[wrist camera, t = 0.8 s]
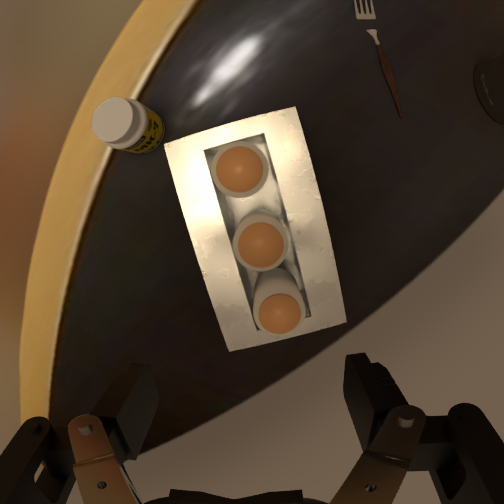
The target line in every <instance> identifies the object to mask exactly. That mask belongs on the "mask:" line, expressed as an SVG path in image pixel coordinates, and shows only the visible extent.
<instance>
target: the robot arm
mask: <svg viewBox="0 0 504 504" xmlns="http://www.w3.org/2000/svg"><path fill="white" fill-rule="evenodd" d="M474 82H475V88H476V92H477V94H478V97H479V100H480V102H481V103H482V105H483V107H484V109H485V110H486V112H487V113H488V114H489V115H490V116H491V117H492V118H493V119H494V120H495V121H497V122H499V123H501V124H504V52H503V53H501V54H498V55H496V56H494V57H491V58H489V59H486V60H484V61H482V62H480V63H479V64H478V65H477V67H476V69H475V73H474ZM343 392H344V398H345V401H346V404H347V407H348V410H349V413H350V415H351V418H352V420H353V424H354V426H355V429H356V432H357V435H358V438H359V441H360V444H361V447H362V450H363V454H362V455H361V457H360V458H359V460H358V461H357V463H356V465H355V466H354V468H353V469H352V471H351V472H350V474H349V476H348V477H347V479H346V480H345V482H344V483H343V485H342V486H341V487H340V489H339V490H338V492H337V493H336V495H335V496H334V497H333V499H332V501H331V502H330V503H326V502H323V501H319V500H315V499H310V498H303V494H302V490H293V491H279V492H267V493H263V494H259V495H254V496H249V497H245V498H240V499H229V498H225V497H221V496H216V495H212V494H208V493H205V492H199V491H186V490H176V489H170V493H169V497H164V498H159V499H155V500H151V501H149V502H146V503H143V501H142V499H141V498H140V496H139V494H138V492H137V490H136V488H135V487H134V485H133V483H132V481H131V479H130V477H129V475H128V473H127V471H126V469H125V467H124V465H123V463H124V461H125V459H130V460H136V459H137V456H138V454H139V451H140V449H141V446H142V444H143V441H144V439H145V436H146V434H147V431H148V429H149V426H150V424H151V422H152V419H153V417H154V414H155V412H156V409H157V407H158V402H159V397H158V391H157V388H156V385H155V381H154V378H153V374H152V370H151V367H150V365H148V364H133V363H132V364H130V366H129V367H128V369H127V370H126V372H125V373H124V374H120V375H119V376H117V377H116V378H114V379H113V380H112V381H111V382H110V384H109V385H108V387H107V389H106V390H105V392H104V393H103V395H102V396H101V398H100V399H99V401H98V402H97V404H96V405H95V407H94V408H93V410H92V411H91V413H90V414H89V415H82V416H79V417H77V418H75V419H74V420H72V421H71V422H70V424H69V426H68V427H52V425H51V424H50V422H49V420H48V419H47V418H45V417H33V418H30V419H28V420H27V421H25V422H24V423H23V425H22V426H21V427H20V429H19V430H18V431H17V433H16V434H15V436H14V437H13V438H12V440H11V441H10V443H9V444H8V445H7V447H6V449H5V450H4V451H3V453H2V454H1V455H0V504H66V502H67V499H68V497H69V494H70V492H71V490H72V488H73V485H74V483H75V481H76V480H77V484H78V487H79V490H80V493H81V496H82V499H83V502H84V504H392V502H393V500H394V498H395V496H396V494H397V492H398V490H399V487H400V486H401V484H402V481H403V479H404V477H405V475H406V472H407V471H429V473H430V475H431V478H432V481H433V483H434V486H435V488H436V490H437V493H438V496H439V499H440V501H441V504H504V443H503V441H502V440H501V438H500V437H499V435H498V434H497V432H496V431H495V429H494V428H493V426H492V425H491V423H490V422H489V421H488V419H487V418H486V416H485V415H484V413H483V412H482V411H481V410H480V408H478V407H477V406H475V405H473V404H469V403H460V404H457V405H455V406H453V407H452V408H451V409H450V410H449V413H448V415H447V416H426V415H425V413H424V412H423V411H422V410H421V409H420V408H418V407H415V406H412V405H409V404H408V402H407V401H406V399H405V397H404V396H403V394H402V392H401V391H400V389H399V387H398V386H397V384H395V381H394V379H393V378H392V376H391V375H390V373H389V371H388V370H387V368H385V367H384V366H383V365H381V364H380V363H378V362H377V363H371V362H370V360H369V359H368V357H367V355H366V354H365V353H358V354H350V355H347V356H346V360H345V371H344V383H343ZM41 463H42V465H43V466H44V468H43V470H42V472H41V474H40V476H39V477H38V479H37V481H36V483H35V481H34V475H35V473H36V471H37V469H38V467H39V466H40V464H41Z"/></svg>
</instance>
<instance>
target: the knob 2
mask: <svg viewBox="0 0 504 504" xmlns="http://www.w3.org/2000/svg"><path fill="white" fill-rule="evenodd" d="M288 248H289V240H288V236H287V233H286V231H285V229H284V227H283V225H282V224H281V222H280V220H279V218H278V217H277V216H276V215H275V214H274V213H272V212H270V211H268V210H264V209H256V210H253V211H250V212H248V213H247V214H246V215H244V216H243V218H242V219H241V221H240V223H239V225H238V227H237V230H236V232H235V234H234V237H233V251H234V254H235V256H236V258H237V259H238V261H239V262H240V263H241V264H242V265H243V266H245V267H246V268H248V269H250V270H253V271H259V272H262V271H268V270H271V269H274V268H275V267H277V266H278V265H279V264H281V263H282V261H283V260H284V259H285V257H286V255H287V252H288Z"/></svg>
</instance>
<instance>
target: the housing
mask: <svg viewBox="0 0 504 504" xmlns="http://www.w3.org/2000/svg"><path fill="white" fill-rule="evenodd" d="M236 141H244V142H248V143H251V144H253V145H255V146H257V147H258V148H259V149H260V150H261V151H262V152H263V153H264V155H265V157H266V158H267V161H268V166H269V173H268V177H267V180H266V182H265V184H264V186H263V187H262V188H261V189H260V190H259V191H258V192H257V193H255V194H253V195H251V196H249V197H245V198H235V197H231V196H228V195H226V194H224V193H223V192H221V191H220V190H219V189H218V188H217V186H216V185H215V183H214V181H213V178H212V175H211V165H212V161H213V158H214V156H215V155H216V153H217V152H218V151H219V150H220V149H221V148H222V147H223V146H225V145H227V144H229V143H232V142H236ZM164 147H165V151H166V155H167V158H168V162H169V166H170V169H171V173H172V176H173V180H174V183H175V187H176V190H177V194H178V197H179V201H180V204H181V207H182V211H183V214H184V217H185V221H186V224H187V227H188V231H189V234H190V237H191V240H192V243H193V247H194V250H195V253H196V256H197V259H198V262H199V265H200V268H201V271H202V275H203V278H204V281H205V284H206V287H207V290H208V293H209V295H210V298H211V301H212V304H213V307H214V310H215V313H216V316H217V319H218V322H219V324H220V327H221V330H222V333H223V336H224V338H225V341H226V344H227V347H228V349H229V352H230V351H235V350H239V349H244V348H249V347H253V346H257V345H262V344H266V343H270V342H274V341H279V340H283V339H287V338H291V337H294V336H298V335H302V334H306V333H310V332H313V331H317V330H321V329H324V328H328V327H331V326H335V325H338V324H342V323H345V322H347V321H346V316H345V310H344V304H343V299H342V293H341V288H340V283H339V278H338V273H337V268H336V263H335V258H334V253H333V249H332V244H331V240H330V235H329V231H328V226H327V222H326V218H325V213H324V209H323V205H322V201H321V197H320V193H319V189H318V185H317V181H316V177H315V174H314V170H313V166H312V162H311V159H310V155H309V152H308V148H307V144H306V141H305V137H304V134H303V131H302V127H301V124H300V121H299V117H298V114H297V111H296V107H292V108H287V109H283V110H278V111H274V112H270V113H266V114H262V115H258V116H254V117H250V118H247V119H243V120H239V121H236V122H232V123H229V124H225V125H222V126H218V127H215V128H212V129H209V130H205V131H202V132H199V133H196V134H193V135H190V136H187V137H184V138H181V139H178V140H175V141H172V142H169V143H167V144H164ZM256 209H264V210H268V211H270V212H272V213H274V214H275V215H276V216H277V217H278V218H279V220H280V222H281V224H282V225H283V227H284V229H285V231H286V233H287V236H288V240H289V248H288V252H287V255H286V257H285V259H284V260H283V261H282V263H281V264H279V265H278V266H277V267H275V268H282V269H285V270H287V271H289V272H290V273H291V274H292V275H293V276H294V278H295V280H296V282H297V285H298V288H299V291H300V293H301V296H302V299H303V302H304V305H305V309H306V313H305V318H304V321H303V323H302V324H301V326H300V327H299V328H298V329H297V330H295V331H294V332H292V333H290V334H288V335H284V336H273V335H269V334H267V333H265V332H263V331H262V330H261V329H260V328H259V327H258V326H257V324H256V323H255V320H254V316H253V307H254V285H255V281H256V279H257V278H258V276H259V275H260V274H261V273H262V272H264V271H262V272H259V271H253V270H250V269H248V268H246V267H245V266H243V265H242V264H241V263H240V262H239V261H238V259H237V258H236V256H235V254H234V251H233V237H234V234H235V232H236V230H237V227H238V225H239V223H240V221H241V219H242V218H243V216H244V215H246V214H247V213H248V212H250V211H253V210H256Z"/></svg>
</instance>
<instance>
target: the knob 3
mask: <svg viewBox="0 0 504 504" xmlns="http://www.w3.org/2000/svg"><path fill="white" fill-rule="evenodd" d="M305 313H306V309H305V305H304V302H303V299H302V296H301V293H300V291H299V288H298V285H297V282H296V280H295V278H294V276H293V275H292V274H291V273H290V272H289V271H287V270H285V269H282V268H274V269H271V270H268V271H264V272H262V273H261V274H260V275H259V276H258V278H257V279H256V281H255V285H254V307H253V316H254V320H255V323H256V324H257V326H258V327H259V328H260V329H261V330H262V331H263V332H265V333H267V334H269V335H273V336H284V335H288V334H290V333H292V332H294V331H295V330H297V329H298V328H299V327H300V326H301V324H302V323H303V321H304V318H305Z"/></svg>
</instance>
